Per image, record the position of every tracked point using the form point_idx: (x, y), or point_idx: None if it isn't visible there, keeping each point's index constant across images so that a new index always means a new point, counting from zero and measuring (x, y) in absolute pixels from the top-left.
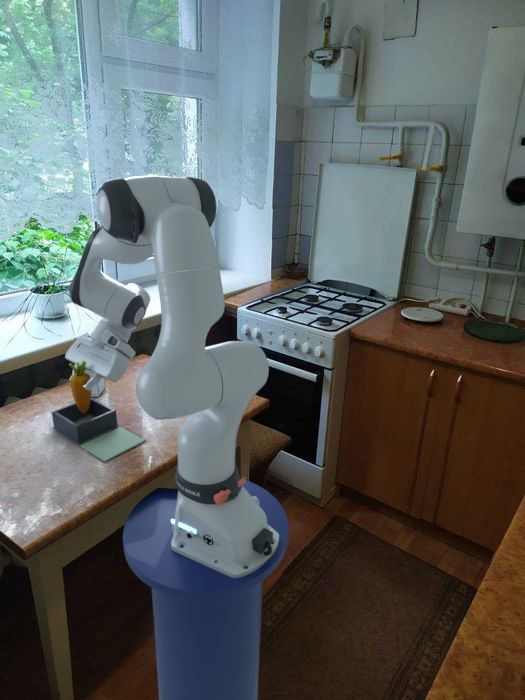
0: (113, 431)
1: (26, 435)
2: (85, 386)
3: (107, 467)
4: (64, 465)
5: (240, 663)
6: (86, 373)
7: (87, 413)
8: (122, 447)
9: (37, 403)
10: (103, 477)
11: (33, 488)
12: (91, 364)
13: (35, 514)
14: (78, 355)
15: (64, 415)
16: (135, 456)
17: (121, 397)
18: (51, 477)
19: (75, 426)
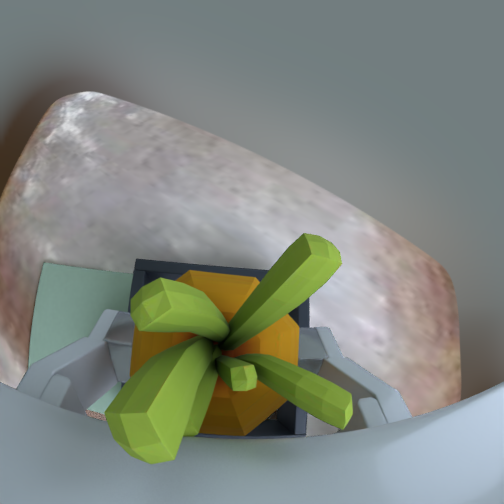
0: (116, 384)
1: (310, 225)
2: (110, 314)
3: (32, 253)
4: (113, 201)
5: None
6: (207, 424)
7: (279, 407)
8: (42, 330)
9: (434, 335)
10: (24, 225)
11: (116, 135)
12: (87, 474)
13: (74, 117)
14: (462, 475)
15: None
16: (10, 320)
17: None
18: (109, 165)
19: (144, 259)
